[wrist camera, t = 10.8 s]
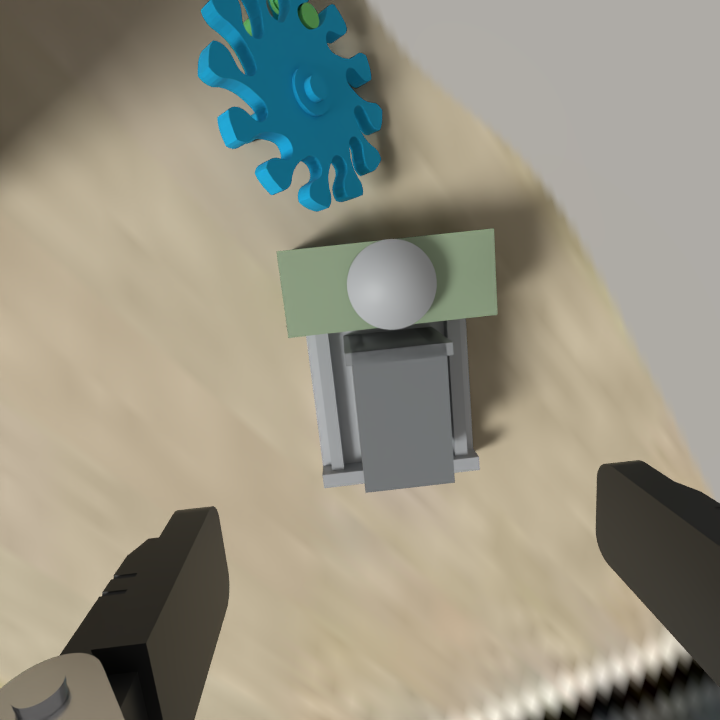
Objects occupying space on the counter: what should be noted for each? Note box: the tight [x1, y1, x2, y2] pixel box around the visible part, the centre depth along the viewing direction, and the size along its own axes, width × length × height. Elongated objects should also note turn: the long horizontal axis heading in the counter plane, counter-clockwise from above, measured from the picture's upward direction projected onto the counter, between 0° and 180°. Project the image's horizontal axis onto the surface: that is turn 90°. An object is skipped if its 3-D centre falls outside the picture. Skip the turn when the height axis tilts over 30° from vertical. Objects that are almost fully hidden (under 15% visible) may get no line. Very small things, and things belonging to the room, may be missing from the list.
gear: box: [198, 0, 382, 212], centre depth 23 cm, size 11×6×10 cm
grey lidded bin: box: [343, 327, 455, 493], centre depth 25 cm, size 7×5×5 cm
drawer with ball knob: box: [277, 228, 498, 488], centre depth 25 cm, size 10×13×6 cm
